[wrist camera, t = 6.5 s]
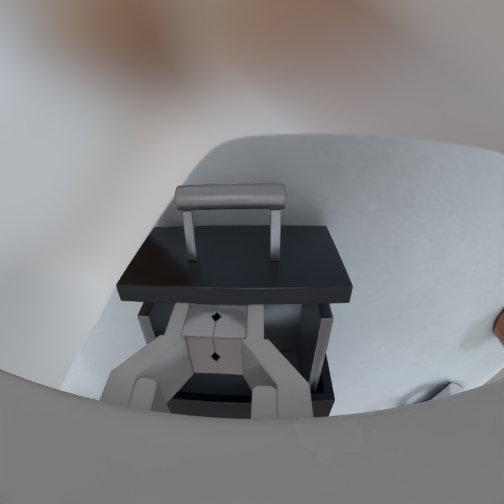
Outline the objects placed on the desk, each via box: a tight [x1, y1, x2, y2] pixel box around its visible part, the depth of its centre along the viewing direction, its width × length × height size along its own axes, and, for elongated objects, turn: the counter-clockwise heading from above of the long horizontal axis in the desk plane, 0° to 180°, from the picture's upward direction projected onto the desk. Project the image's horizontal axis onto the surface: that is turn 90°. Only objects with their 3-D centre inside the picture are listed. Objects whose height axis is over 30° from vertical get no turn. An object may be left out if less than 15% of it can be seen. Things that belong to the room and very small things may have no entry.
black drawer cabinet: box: [167, 354, 335, 419], centre depth 28 cm, size 15×15×10 cm
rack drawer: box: [116, 184, 353, 395], centre depth 21 cm, size 18×13×8 cm
